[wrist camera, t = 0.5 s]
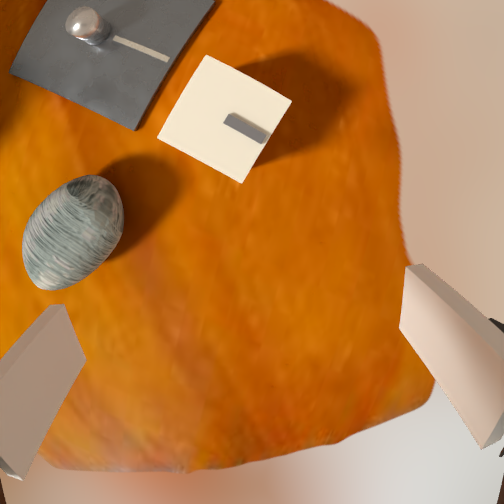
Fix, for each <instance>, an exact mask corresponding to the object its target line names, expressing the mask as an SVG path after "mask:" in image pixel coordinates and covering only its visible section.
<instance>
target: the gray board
mask: <svg viewBox="0 0 504 504" xmlns="http://www.w3.org/2000/svg"><path fill="white" fill-rule="evenodd" d="M214 5H215V1H213V0H47V2H46V3H45V5H44V7H43V8H42V10H41V11H40V13H39V15H38V16H37V18H36V20H35V22H34V23H33V25H32V27H31V29H30V30H29V32H28V34H27V36H26V38H25V40H24V42H23V44H22V45H21V47H20V49H19V51H18V53H17V56H16V58H15V60H14V62H13V64H12V66H11V68H10V70H9V73H10V74H13V75H15V76H17V77H20V78H22V79H24V80H27V81H29V82H31V83H34V84H36V85H38V86H40V87H43V88H45V89H47V90H49V91H52V92H54V93H56V94H58V95H60V96H62V97H65V98H67V99H69V100H71V101H73V102H75V103H78V104H80V105H82V106H84V107H86V108H88V109H90V110H92V111H94V112H96V113H99V114H101V115H103V116H105V117H107V118H109V119H111V120H113V121H115V122H117V123H119V124H121V125H123V126H125V127H127V128H129V129H131V130H133V131H136V130H137V128H138V127H139V125H140V123H141V121H142V119H143V117H144V115H145V113H146V111H147V110H148V108H149V106H150V104H151V102H152V101H153V99H154V97H155V95H156V94H157V92H158V90H159V88H160V87H161V85H162V83H163V82H164V80H165V78H166V77H167V75H168V73H169V72H170V70H171V68H172V67H173V65H174V64H175V62H176V60H177V59H178V57H179V56H180V54H181V53H182V51H183V49H184V48H185V46H186V45H187V43H188V42H189V40H190V39H191V37H192V36H193V35H194V33H195V32H196V30H197V29H198V27H199V26H200V24H201V23H202V22H203V20H204V19H205V17H206V16H207V15H208V13H209V12H210V11H211V9H212V8H213V7H214Z"/></svg>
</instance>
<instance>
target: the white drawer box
mask: <svg viewBox="0 0 504 504" xmlns="http://www.w3.org/2000/svg"><path fill="white" fill-rule="evenodd" d="M291 102H292V101H291V100H289V99H288V98H286V97H284V96H283V95H281V94H279V93H277V92H276V91H274V90H272V89H271V88H269V87H267V86H265V85H264V84H262V83H260V82H258V81H256V80H255V79H253V78H251V77H249V76H247V75H245V74H243V73H241V72H240V71H238V70H236V69H234V68H232V67H230V66H228V65H226V64H224V63H222V62H220V61H218V60H216V59H214V58H212V57H210V56H208V55H206V56H205V57H204V59H203V60H202V62H201V64H200V65H199V67H198V68H197V70H196V71H195V73H194V75H193V76H192V78H191V79H190V81H189V83H188V84H187V86H186V88H185V89H184V91H183V93H182V94H181V96H180V98H179V99H178V101H177V103H176V105H175V106H174V108H173V110H172V112H171V113H170V115H169V117H168V119H167V120H166V122H165V124H164V126H163V128H162V130H161V131H160V133H159V135H158V137H157V138H158V139H160V140H162V141H164V142H166V143H167V144H169V145H171V146H173V147H175V148H177V149H179V150H181V151H183V152H185V153H186V154H188V155H190V156H192V157H194V158H196V159H198V160H200V161H201V162H203V163H205V164H207V165H209V166H211V167H212V168H214V169H216V170H218V171H220V172H222V173H223V174H225V175H227V176H229V177H231V178H232V179H234V180H236V181H238V182H240V183H241V184H242V183H243V181H244V179H245V178H246V176H247V174H248V172H249V171H250V169H251V167H252V166H253V164H254V162H255V161H256V159H257V157H258V156H259V154H260V152H261V151H262V149H263V148H264V146H265V144H266V143H267V141H268V139H269V138H270V136H271V134H272V133H273V131H274V130H275V128H276V126H277V125H278V123H279V121H280V120H281V118H282V117H283V115H284V113H285V112H286V110H287V109H288V107H289V105H290V104H291Z"/></svg>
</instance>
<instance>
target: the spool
mask: <svg viewBox="0 0 504 504" xmlns="http://www.w3.org/2000/svg"><path fill="white" fill-rule="evenodd" d="M123 226H124V210H123V205H122V202H121V198H120V195H119V193H118V191H117V189H116V188H115V186H114V185H113V184H112V183H111V182H109V181H108V180H106V179H105V178H103V177H100V176H96V175H85V176H82V177H79V178H76V179H74V180H71V181H69V182H67V183H65V184H63V185H62V186H60V187H59V188H58V189H56V190H55V191H53V192H52V193H51V194H50V195H49V196H48V197H47V198H46V199H45V200H44V201H43V202H42V203H41V204H40V205H39V206H38V207H37V208H36V210H35V211H34V212H33V214H32V215H31V217H30V219H29V221H28V223H27V226H26V228H25V231H24V235H23V242H22V253H23V260H24V265H25V268H26V271H27V273H28V275H29V277H30V278H31V280H32V282H33V283H34V284H35V285H36V286H38V287H39V288H41V289H46V290H58V289H63V288H67V287H69V286H72V285H74V284H76V283H78V282H79V281H81V280H82V279H84V278H85V277H87V276H88V275H89V274H91V273H92V272H93V271H94V270H95V269H97V268H98V267H99V266H100V265H101V264H102V263H103V262H104V261H105V260H106V259H107V257H108V256H109V255H110V254H111V252H112V251H113V249H114V248H115V247H116V245H117V243H118V242H119V240H120V238H121V235H122V232H123Z"/></svg>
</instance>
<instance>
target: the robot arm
mask: <svg viewBox="0 0 504 504" xmlns="http://www.w3.org/2000/svg"><path fill="white" fill-rule="evenodd" d="M399 329H400V330H401V332H402V333H403V335H404V336H405V337H406V339H407V340H408V341H409V343H410V344H411V345H412V347H413V348H414V350H415V351H416V352H417V354H418V355H419V357H420V358H421V359H422V361H423V362H424V364H425V365H426V366H427V368H428V369H429V371H430V372H431V374H432V375H433V376H434V378H435V379H436V381H437V382H438V384H439V385H440V387H441V388H442V390H443V391H444V393H445V394H446V396H447V397H448V399H449V400H450V402H451V403H452V405H453V406H454V408H455V409H456V411H457V412H458V414H459V415H460V417H461V418H462V420H463V421H464V423H465V425H466V426H467V427H468V429H469V431H470V432H471V434H472V436H473V437H474V438H475V440H476V442H477V444H478V445H479V447H480V449H481V450H482V449H483V448H485V447H487V446H489V445H491V444H493V443H495V442H497V441H499V440H500V439H501V438H502V436H503V434H504V324H502V323H500V322H498V321H496V320H494V319H492V318H490V319H487V317H485V316H484V315H483V314H482V313H481V312H480V311H478V310H477V309H476V308H475V307H474V306H473V305H472V304H471V303H469V302H468V301H467V300H466V299H465V298H464V297H463V296H461V295H460V294H459V293H458V292H457V291H455V290H454V289H453V288H452V287H451V286H449V285H448V284H447V283H446V282H445V281H443V280H442V279H441V278H440V277H439V276H437V275H436V274H435V273H434V272H432V271H431V270H430V269H429V268H427V267H426V266H425V265H424V264H418V265H411V266H406V269H405V281H404V292H403V301H402V310H401V318H400V326H399ZM85 362H86V357H85V355H84V353H83V351H82V348H81V346H80V344H79V341H78V339H77V336H76V334H75V331H74V329H73V326H72V324H71V321H70V319H69V316H68V313H67V311H66V308H65V305H64V304H58V305H50V306H49V307H48V308H47V309H46V310H45V311H44V312H43V313H42V314H41V315H40V316H39V317H38V318H37V319H36V320H35V321H34V323H33V324H32V325H31V326H30V327H29V328H28V329H27V330H26V331H25V332H24V334H23V335H22V336H21V337H20V338H19V339H18V340H17V341H16V343H15V344H14V345H13V346H12V347H11V348H10V349H9V351H8V352H7V353H6V354H5V355H4V356H3V358H2V359H1V360H0V468H1V469H2V470H3V471H4V472H5V473H6V474H7V475H8V476H11V477H14V478H16V479H19V480H22V481H24V479H25V477H26V475H27V472H28V470H29V468H30V466H31V464H32V462H33V460H34V457H35V455H36V453H37V451H38V449H39V447H40V445H41V443H42V441H43V439H44V437H45V435H46V433H47V431H48V429H49V427H50V425H51V424H52V422H53V420H54V418H55V416H56V414H57V412H58V410H59V408H60V406H61V405H62V403H63V401H64V399H65V397H66V395H67V394H68V392H69V390H70V388H71V386H72V385H73V383H74V381H75V379H76V378H77V376H78V374H79V372H80V371H81V369H82V367H83V365H84V364H85ZM503 455H504V448H503V449H502V451H501V453H500V455H499V457H502V456H503ZM0 504H6V501H5V497H4V493H3V489H2V484H1V480H0ZM497 504H504V476H503V480H502V485H501V489H500V493H499V497H498V501H497Z"/></svg>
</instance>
